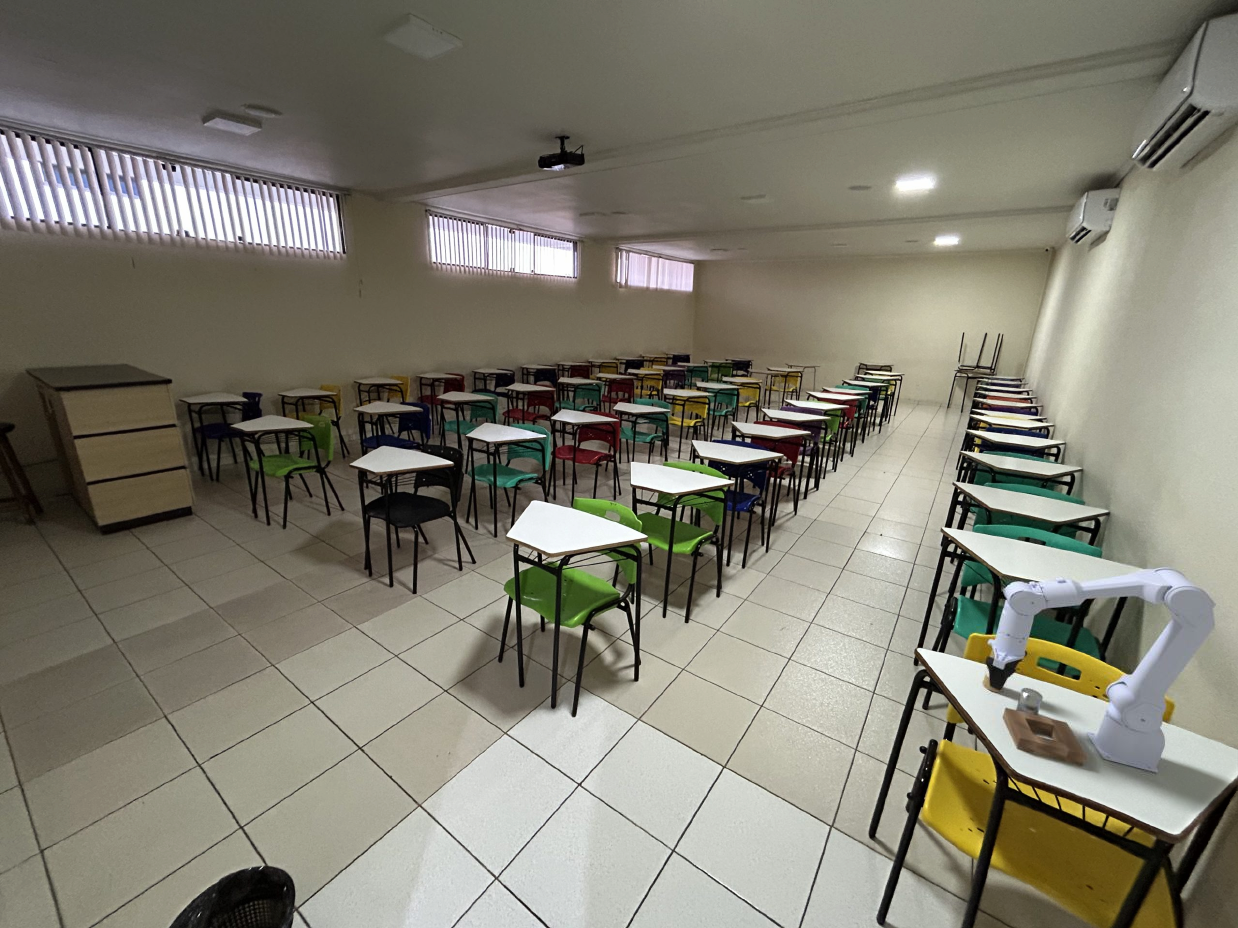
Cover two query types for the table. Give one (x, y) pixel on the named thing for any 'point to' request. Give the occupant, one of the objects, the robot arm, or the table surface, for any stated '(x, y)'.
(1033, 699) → the peg
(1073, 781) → the table surface
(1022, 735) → the socket block
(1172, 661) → the robot arm
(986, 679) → the sprinkles bottle
